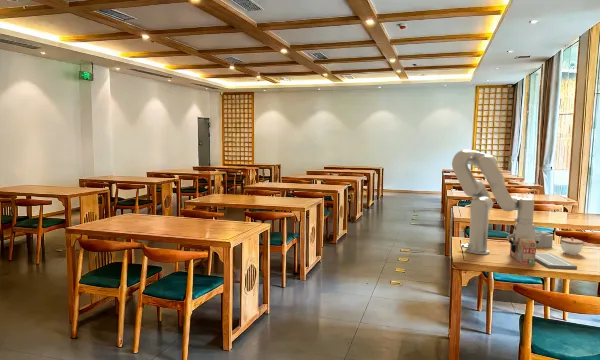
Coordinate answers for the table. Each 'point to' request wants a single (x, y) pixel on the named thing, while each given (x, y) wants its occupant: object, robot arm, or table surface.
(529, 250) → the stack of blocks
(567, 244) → the lidded jar
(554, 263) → the foundation board
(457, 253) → the table surface
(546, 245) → the grey bumpy block
